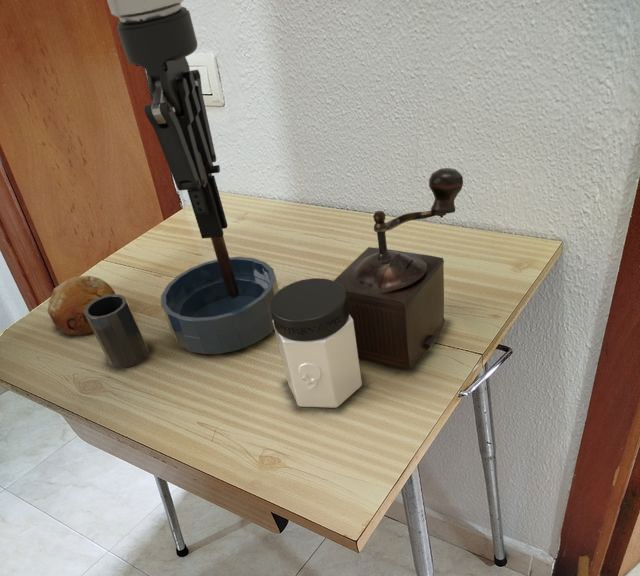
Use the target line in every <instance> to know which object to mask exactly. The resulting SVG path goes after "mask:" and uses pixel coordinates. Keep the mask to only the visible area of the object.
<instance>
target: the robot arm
mask: <svg viewBox="0 0 640 576" xmlns="http://www.w3.org/2000/svg"><path fill="white" fill-rule="evenodd" d="M106 1H107V5H108V8H109V11H110V14H111V15H112V16H113V17H114V18H118V19H119V21H118V22H117V26H116V30H117V33H118V37H119V40H120V42H121V45H122V49H123V52H124V56H125V58H126V60H127V62H128V63H129V64H130V65H131V66H134V67H142V68H143V69H144V70H145V72H146V73H145V75H146V78H147V85H148V90H149V94H150V97H151V100H152V104H151V103H150V104H145V105H144V107H143V109H144V114H145V116H146V119H147V120H148V122H149V123H150V125H151V126H152V128H153V130H154V132H155V135H156V137H157V140H158V143H159V146H160V148H161V151H162V152H163V156H164V158H165V160H166V163H167V166H168V167H169V170H170V173H171V175H172V178H173V180H174V183H175V185H176V188H177V190H178V191H187V194H188V197H189V201H190V204H191V206H192V211H193V214H194V218H195V220H196V223H197V227H198V230H199V233H200V236H201V239H211V238H214V237H222V236H223V237H224V230H223V229H228V226H229V225H228V221H227V218H226V214H225V210H224V207H223V203H222V199H221V197H220V192H219V189H218V186H217V181H216V177H215V175H213V174H219V173H220V172H221V167H220V164H216V165H215V164H214V163H217V162H216V161H217V154H216V150H215V146H214V141H213V137H212V132H211V128H210V123H209V122H210V121H209V119H208V114H207V109H206V104H205V100H204V95H203V88H202V79H201V73H200V70H199V69H193V70H192V69H191V70H190V65H189V61H188V59H187V57H188V56H190V55H192V54H193V53H195V52H196V50H197V48H198V40H197V35H196V32H195V29H194V25H193V24H194V23H193V21H192V16H191V12H190V10H188V8H187V7H185V6H182V3H183V2H184V1H185V0H106ZM198 151H199V153H200V155H201V158H202V162H203V165H204V169H205V172H206V176H207V179H208V183H206V181H205V177H204V173H203V170H202V166H201V162H200V158H199V154H198Z"/></svg>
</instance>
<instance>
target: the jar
mask: <svg viewBox="0 0 640 576" xmlns="http://www.w3.org/2000/svg"><path fill="white" fill-rule="evenodd" d="M270 310H271V314H272V318H273V325H274V333H275V337H276V341H277V346H278V349H279V353H280V357H281V361H282V365H283V369H284V373H285V378H286V380H287V384H288V386H289V390H290V391H291V393H292V395H293V398H294V400H295V402H296V404H297V406H298V407H301V408H303V407H304V408H328V409H329V408H331V409H333V408H334V409H337V408H338V407H340V406H341V405H342V404H343V403H344V402H345V401H346V400H348V399H349V398H350V397H351V396H352V395H353V394H354V393H356V392H357V390H359V389H360V388H361V387H362V386H363V382H362V375H361V367H360V359H358V351H357V344H356V337H355V330H354V322H353V319H352V317H351V316H350V314H349V308H348V301H347V294H346V291H345V289H344V287H343V286H342V285H340V284H339V283H337V282H335V281H334V279H333V280H332V279H329V278H320V277H319V278H317V277H316V278H306V279H301V280H297V281H294V282H292V283H289V284H287V285H286V286H284V287H282V288H280V289H279V291H278V292H277V293H276V294H275V295H274V297H273V298H272V300H271V303H270Z"/></svg>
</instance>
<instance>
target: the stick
mask: <svg viewBox="0 0 640 576" xmlns="http://www.w3.org/2000/svg"><path fill="white" fill-rule="evenodd" d="M198 154H199V158H200V162H201V166H202V170H203V173H204V177H205V181H206V183H208V179H207V176H206V172H205V169H204V165H203V162H202V158H201V155H200V153H199V151H198ZM210 240H211V243H212V246H213V250H214V253H215V257H216V260H217V261H218V264H219V267H220V271H221V274H222V277H223V281H224V284H225V288H226V291H227V294H228V296H229V297H230V298H232V299H235V298H237V297H238V295H239V291H238V287H237V284H236V280H235V276H234V273H233V269H232V266H231V262H230V256H229V251H228V247H227V244H226V240H225V237H224V235H223V236H222V237H214V238H210Z"/></svg>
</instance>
